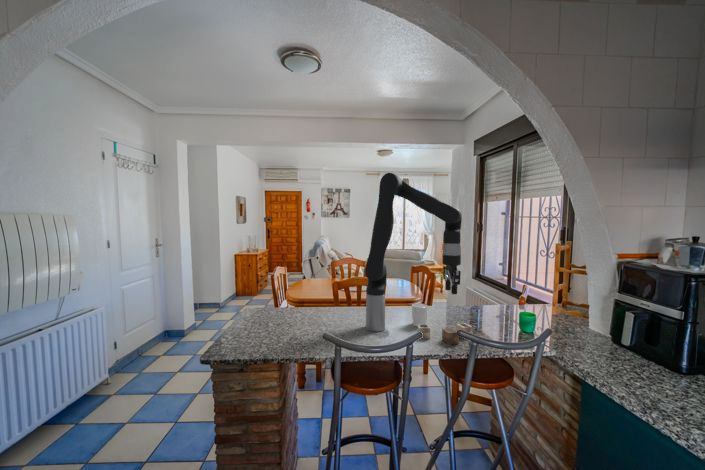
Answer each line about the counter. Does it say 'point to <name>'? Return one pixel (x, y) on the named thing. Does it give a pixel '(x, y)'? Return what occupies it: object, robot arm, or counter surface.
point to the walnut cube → (450, 336)
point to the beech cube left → (424, 330)
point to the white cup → (419, 313)
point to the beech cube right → (464, 327)
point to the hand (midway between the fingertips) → (451, 292)
